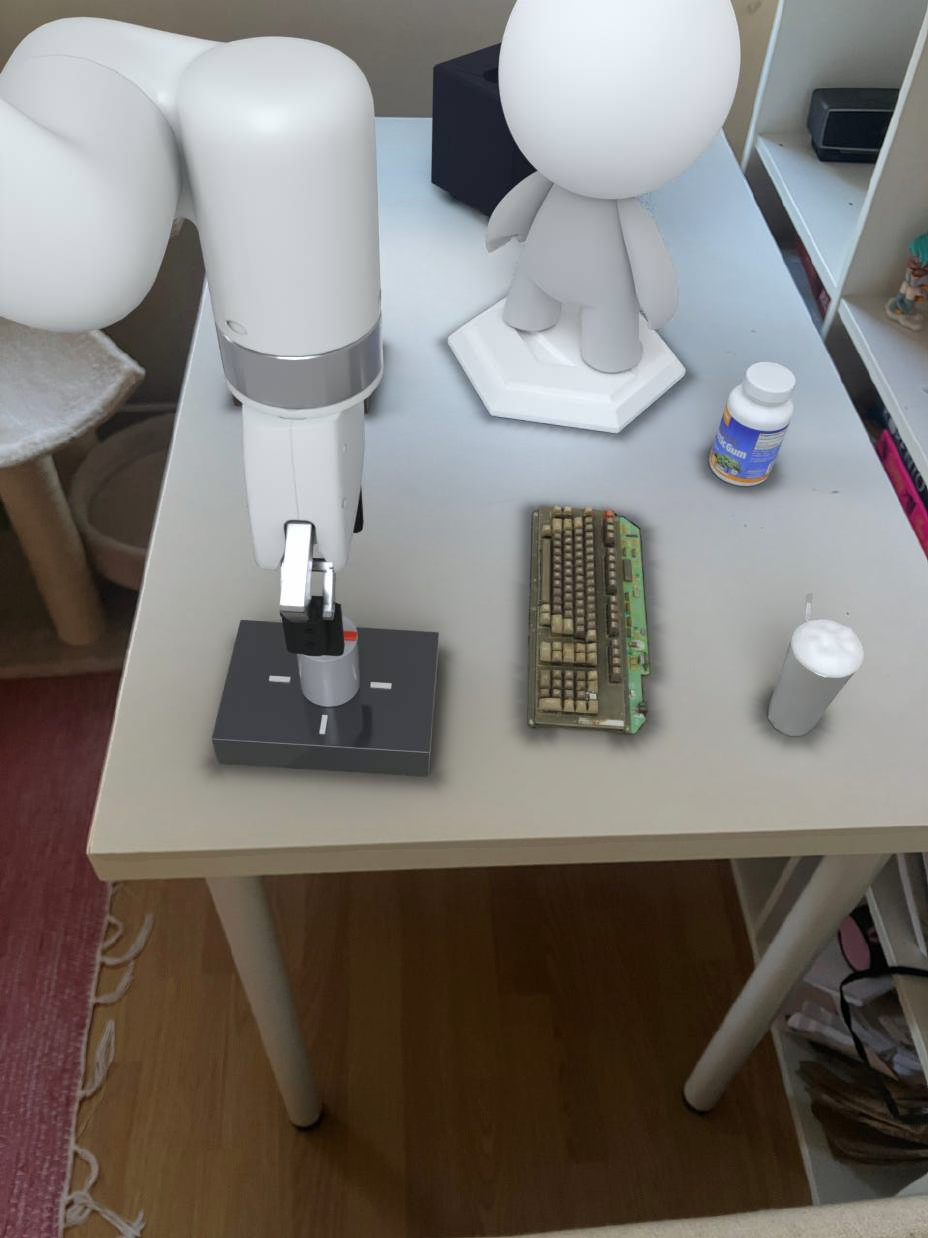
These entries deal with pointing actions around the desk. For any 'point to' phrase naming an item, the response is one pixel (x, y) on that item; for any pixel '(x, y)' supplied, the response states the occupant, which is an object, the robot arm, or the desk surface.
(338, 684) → the hob knob
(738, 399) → the pill bottle
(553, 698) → the keyboard
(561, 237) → the white cartoon figure
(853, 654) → the milkshake
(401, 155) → the desk surface
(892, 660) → the desk surface
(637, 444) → the desk surface
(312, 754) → the panel
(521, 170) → the speaker
